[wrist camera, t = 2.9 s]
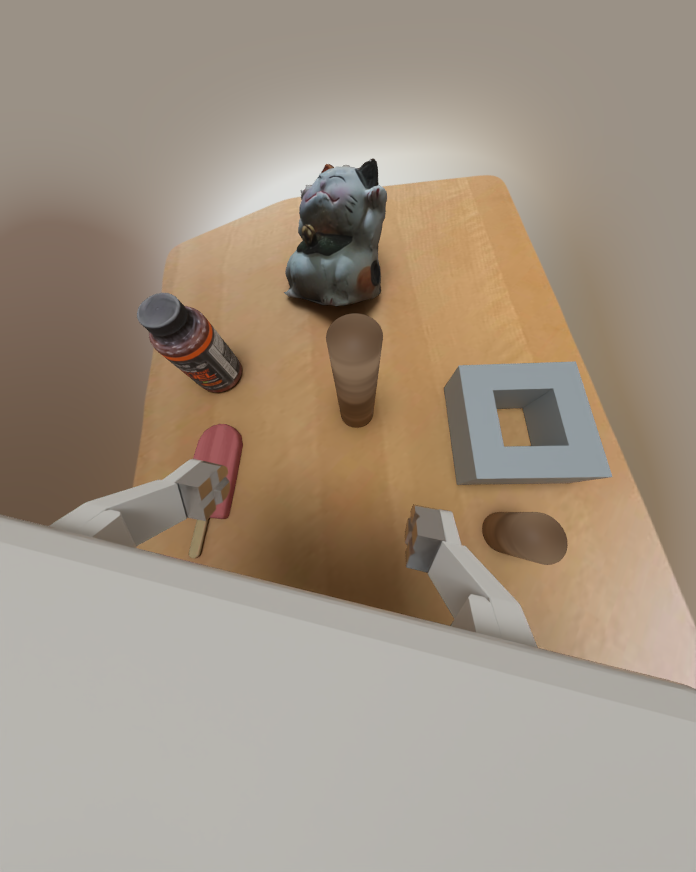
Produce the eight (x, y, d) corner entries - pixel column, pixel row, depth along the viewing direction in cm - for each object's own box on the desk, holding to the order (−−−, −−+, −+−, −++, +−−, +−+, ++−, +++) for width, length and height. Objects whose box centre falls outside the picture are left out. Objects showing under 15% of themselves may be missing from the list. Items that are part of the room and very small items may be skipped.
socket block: (568, 483, 27) (612, 476, 23) (456, 484, 28) (476, 478, 23) (542, 385, 31) (575, 361, 26) (443, 387, 31) (458, 365, 27)
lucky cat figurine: (270, 290, 37) (249, 149, 28) (332, 280, 44) (332, 162, 34) (335, 321, 30) (338, 143, 20) (399, 304, 36) (425, 161, 26)
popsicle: (164, 556, 26) (201, 421, 30) (174, 554, 28) (208, 426, 32) (213, 562, 26) (243, 424, 30) (221, 559, 27) (249, 428, 32)
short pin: (525, 553, 26) (573, 564, 20) (485, 553, 26) (521, 564, 20) (517, 512, 27) (560, 512, 21) (479, 512, 27) (511, 512, 21)
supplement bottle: (197, 396, 33) (117, 339, 22) (202, 357, 35) (130, 286, 24) (242, 392, 33) (184, 332, 22) (244, 353, 34) (192, 280, 24)
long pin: (373, 427, 30) (384, 360, 17) (340, 428, 31) (325, 362, 17) (372, 397, 32) (381, 312, 18) (340, 398, 32) (326, 314, 18)
